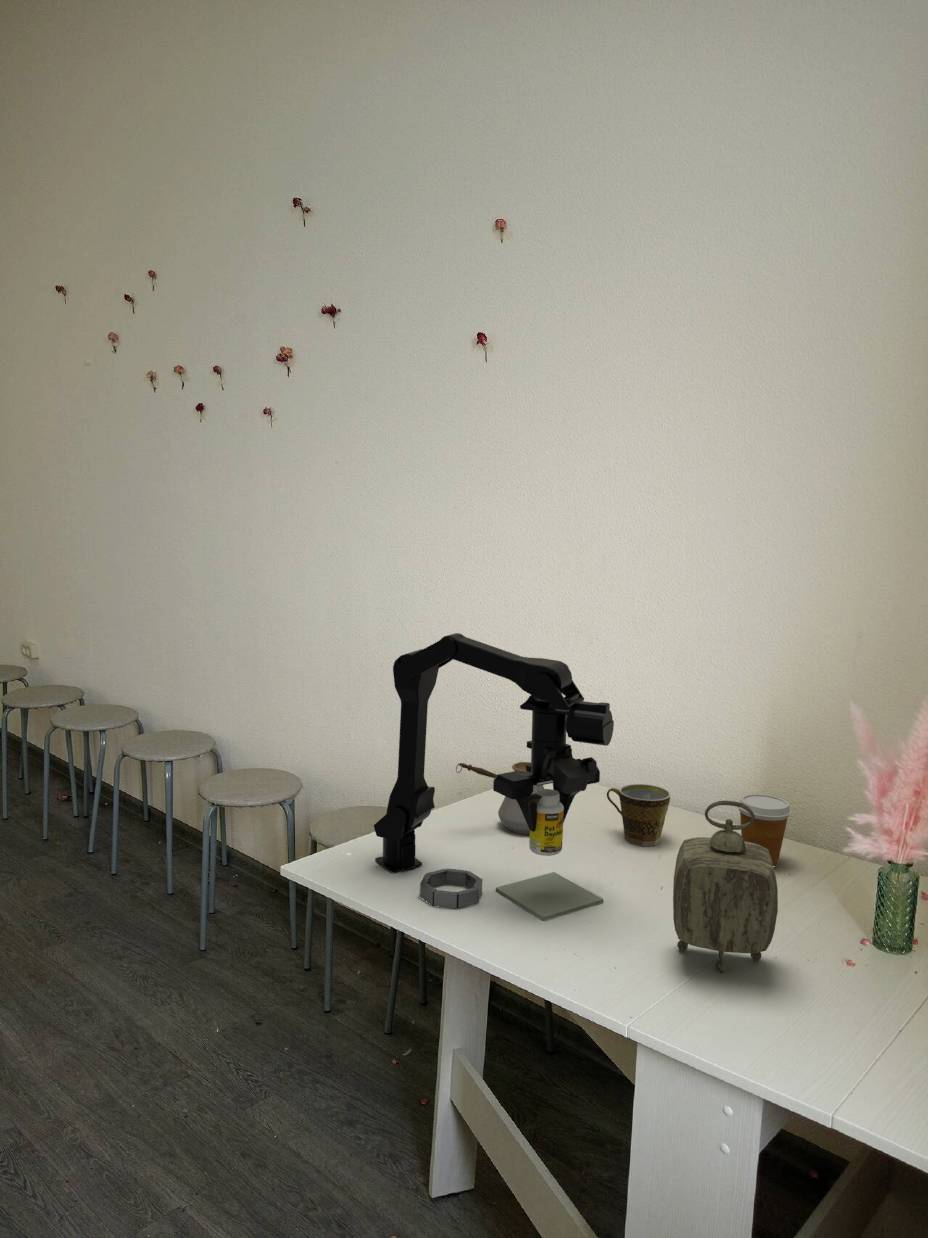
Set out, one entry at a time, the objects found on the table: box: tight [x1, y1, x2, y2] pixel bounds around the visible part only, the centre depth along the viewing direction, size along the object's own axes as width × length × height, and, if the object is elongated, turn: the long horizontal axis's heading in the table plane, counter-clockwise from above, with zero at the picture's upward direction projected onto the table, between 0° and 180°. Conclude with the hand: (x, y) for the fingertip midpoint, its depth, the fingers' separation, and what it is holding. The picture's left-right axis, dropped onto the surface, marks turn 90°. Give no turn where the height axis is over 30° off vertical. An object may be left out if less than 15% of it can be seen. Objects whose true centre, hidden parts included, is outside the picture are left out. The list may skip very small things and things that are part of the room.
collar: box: [419, 868, 483, 910], centre depth 159 cm, size 10×10×2 cm
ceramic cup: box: [606, 783, 671, 847], centre depth 187 cm, size 13×10×10 cm
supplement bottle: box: [528, 788, 564, 857], centre depth 158 cm, size 6×6×10 cm
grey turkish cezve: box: [455, 761, 545, 835], centre depth 189 cm, size 21×12×15 cm, turn 113°
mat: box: [495, 871, 604, 922], centre depth 160 cm, size 13×13×1 cm
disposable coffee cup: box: [737, 793, 792, 866], centre depth 177 cm, size 10×10×12 cm
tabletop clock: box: [672, 800, 779, 973], centre depth 137 cm, size 14×9×25 cm, turn 77°
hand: (546, 827), depth 158 cm, fingers closed on supplement bottle, 6 cm apart
